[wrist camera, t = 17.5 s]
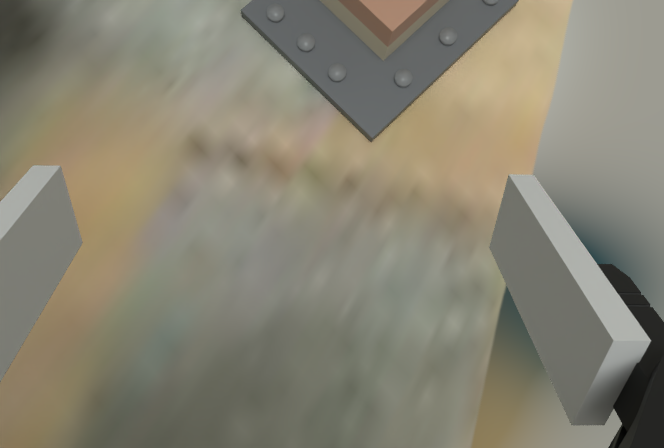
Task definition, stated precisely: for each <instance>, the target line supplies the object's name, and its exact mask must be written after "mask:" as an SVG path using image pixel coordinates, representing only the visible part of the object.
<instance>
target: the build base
mask: <svg viewBox="0 0 664 448" xmlns="http://www.w3.org/2000/svg"><path fill="white" fill-rule="evenodd" d="M518 1H519V0H252V1H251V2H250V3H249V4H247V5H246V6H245V7H244V8H243V9H241V14H242V17H243V18H244V19H245V20H246V21H247V22H248V23H249V24H250V25H251V26H253V27H254V28H255V29H256V30H257V31H258V32H259V33H260V34H261V35H262V36H263V37H264V38H265V39H266V40H267V41H268V42H269V43H270V44H271V45H272V46H273V47H274V48H275V49H276V50H277V51H278V52H279V53H280V54H281V55H282V56H283V57H284V58H285V59H286V60H287V61H288V62H289V63H290V64H292V65H293V66H294V67H295V68H296V69H297V70H298V71H299V72H300V73H301V74H302V75H303V76H304V77H305V78H306V79H307V80H308V81H309V82H310V83H311V84H312V85H313V86H314V87H315V88H316V89H317V90H318V91H319V92H320V93H321V94H322V95H323V96H324V97H325V98H326V99H327V100H328V101H329V102H330V103H332V104H333V105H334V106H335V107H336V108H337V109H338V110H339V111H340V112H341V113H342V114H343V115H344V116H345V117H346V118H347V119H348V120H349V121H350V122H351V123H352V124H353V125H354V126H355V127H356V128H357V129H358V130H359V131H360V132H361V133H362V134H363V135H364V136H365V137H366V138H367V139H368V140H369V141H371V142H372V141H373V140H374V139H375V138H376V137H377V136H378V135H379V134H380V133H381V132H382V131H383V130H384V129H385V128H386V127H387V126H389V125H390V124H391V123H392V122H393V121H394V120H395V119H396V118H397V117H398V116H399V115H400V114H401V113H402V112H403V111H404V110H405V109H406V108H408V107H409V106H410V105H411V104H412V103H413V102H414V101H415V100H416V99H417V98H418V97H419V96H420V95H421V94H422V93H423V92H424V91H425V90H427V89H428V88H429V87H430V86H431V85H432V84H433V83H434V82H435V81H436V80H437V79H438V78H439V77H440V76H441V75H442V74H443V73H444V72H446V71H447V70H448V69H449V68H450V67H451V66H452V65H453V64H454V63H455V62H456V61H457V60H458V59H459V58H460V57H461V56H462V55H463V54H465V53H466V52H467V51H468V50H469V49H470V48H471V47H472V46H473V45H474V44H475V43H476V42H477V41H478V40H479V39H480V38H481V37H482V36H483V35H485V34H486V33H487V32H488V31H489V30H490V29H491V28H492V27H493V26H494V25H495V24H496V23H497V22H498V21H499V20H500V19H501V18H502V17H504V16H505V15H506V14H507V13H508V12H509V11H510V10H511V9H512V8H513V7H514V6H515V5H516V3H517V2H518Z"/></svg>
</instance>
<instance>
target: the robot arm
mask: <svg viewBox="0 0 664 448" xmlns="http://www.w3.org/2000/svg"><path fill="white" fill-rule="evenodd" d="M81 245H82V239H81V235H80V232H79V228H78V225H77V221H76V218H75V214H74V211H73V207H72V204H71V200H70V197H69V193H68V190H67V186H66V183H65V179H64V176H63V172H62V169H61V166H40V165H33V166H32V167H31V168H30V170H29V171H28V172H27V173H26V174H25V175H24V176H23V177H22V178H21V179H20V181H19V182H18V183H17V184H16V185H15V186H14V187H13V188H12V189H11V191H10V192H9V193H8V194H7V195H6V196H5V197H4V198H3V199H2V201H1V202H0V382H1V380H2V378H3V377H4V375H5V373H6V371H7V370H8V368H9V366H10V365H11V363H12V361H13V360H14V358H15V356H16V355H17V353H18V351H19V349H20V348H21V346H22V344H23V343H24V341H25V339H26V338H27V336H28V334H29V333H30V331H31V329H32V327H33V326H34V324H35V322H36V321H37V319H38V317H39V316H40V314H41V312H42V311H43V309H44V307H45V306H46V304H47V302H48V300H49V299H50V297H51V295H52V294H53V292H54V290H55V289H56V287H57V285H58V284H59V282H60V280H61V278H62V277H63V275H64V273H65V272H66V270H67V268H68V267H69V265H70V263H71V262H72V260H73V258H74V256H75V255H76V253H77V251H78V250H79V248H80V246H81ZM489 248H490V250H491V252H492V254H493V256H494V259H495V261H496V263H497V265H498V267H499V269H500V272H501V274H502V276H503V278H504V280H505V282H506V285H507V287H508V289H509V291H510V293H511V295H512V298H513V300H514V302H515V304H516V306H517V308H518V311H519V313H520V315H521V317H522V319H523V321H524V323H525V326H526V328H527V330H528V332H529V334H530V337H531V339H532V341H533V343H534V345H535V347H536V349H537V352H538V354H539V356H540V358H541V360H542V362H543V365H544V367H545V369H546V371H547V373H548V375H549V378H550V380H551V382H552V384H553V386H554V388H555V391H556V393H557V395H558V397H559V399H560V401H561V403H562V406H563V407H564V410H565V412H566V414H567V416H568V419H569V421H570V423H571V425H605V423H606V421H607V419H608V418H609V416H610V414H611V412H612V410H613V409H615V411H616V413H617V415H618V416H619V418H620V420H621V422H622V425H621V427H620V429H619V430H618V432H617V434H616V436H615V437H614V439H613V441H612V442H611V444H610V446H609V448H664V322H663V321H662V319H661V318H660V317H659V315H658V314H657V313H656V311H655V310H654V309H653V308H652V307H650V304H649V302H648V301H647V300H646V298H645V297H644V296H643V295H641V292H640V291H639V289H638V288H637V286H636V285H635V284H634V283H633V281H632V280H631V279H630V277H628V276H627V275H626V274H624V273H623V272H621V271H620V270H619V269H617V268H616V267H615V266H613V265H612V264H596V262H595V261H594V259H593V258H592V257H591V255H590V254H589V253H588V251H587V249H586V248H585V247H584V245H583V244H582V243H581V241H580V240H579V238H578V237H577V235H576V234H575V233H574V231H573V230H572V228H571V227H570V225H569V224H568V223H567V221H566V220H565V218H564V217H563V216H562V214H561V213H560V211H559V210H558V209H557V207H556V206H555V204H554V203H553V201H552V200H551V199H550V197H549V196H548V194H547V193H546V192H545V190H544V189H543V187H542V186H541V185H540V183H539V182H538V180H537V179H536V177H535V176H534V175H511V174H509V175H508V179H507V183H506V187H505V191H504V194H503V198H502V202H501V206H500V209H499V213H498V217H497V221H496V224H495V228H494V232H493V236H492V240H491V243H490V247H489Z"/></svg>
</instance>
